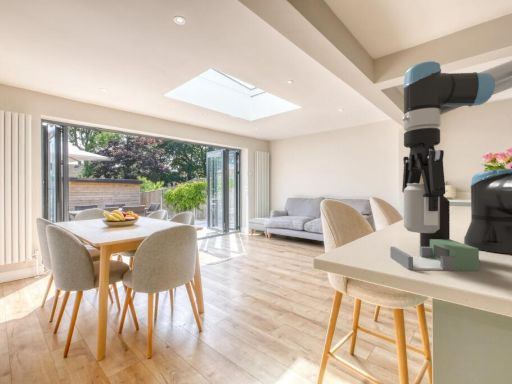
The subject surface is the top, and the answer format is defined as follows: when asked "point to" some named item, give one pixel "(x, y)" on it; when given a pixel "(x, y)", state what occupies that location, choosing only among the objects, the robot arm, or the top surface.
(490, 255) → the top surface
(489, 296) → the top surface
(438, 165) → the robot arm
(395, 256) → the green and grey holder
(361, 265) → the top surface
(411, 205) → the can
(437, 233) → the bottle
